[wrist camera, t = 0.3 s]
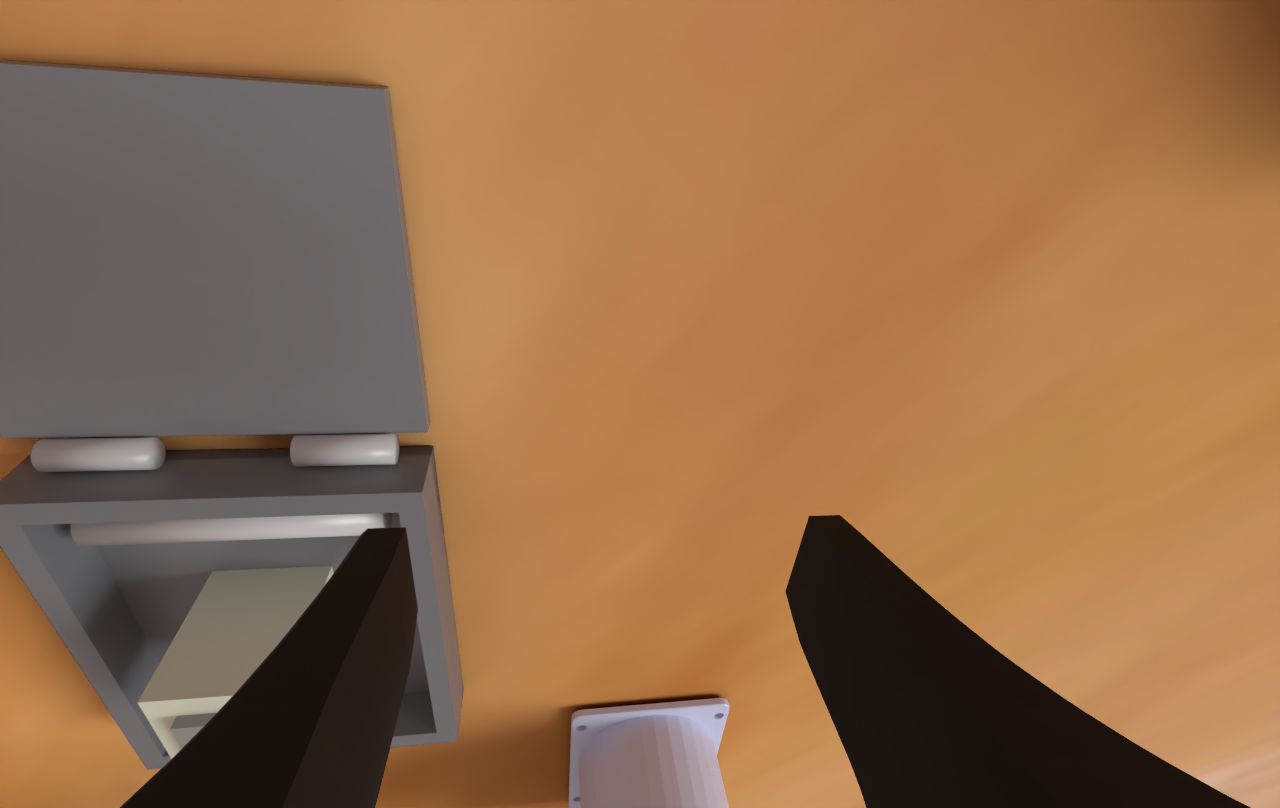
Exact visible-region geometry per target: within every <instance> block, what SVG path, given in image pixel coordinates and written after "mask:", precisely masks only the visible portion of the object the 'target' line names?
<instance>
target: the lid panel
mask: <svg viewBox="0 0 1280 808" xmlns="http://www.w3.org/2000/svg"><path fill="white" fill-rule="evenodd" d="M429 425H430V416H429V408H428V400H427V392H426V384H425V376H424V368H423V360H422V352H421V344H420V336H419V328H418V319H417V311H416V303H415V295H414V287H413V279H412V271H411V263H410V255H409V247H408V239H407V231H406V223H405V215H404V207H403V198H402V190H401V182H400V174H399V166H398V158H397V150H396V142H395V134H394V126H393V118H392V110H391V102H390V94H389V87H386V86H372V85H357V84H343V83H328V82H314V81H299V80H285V79H271V78H256V77H242V76H227V75H213V74H198V73H184V72H169V71H155V70H141V69H126V68H112V67H97V66H83V65H68V64H54V63H39V62H25V61H11V60H0V435H1V436H2V438H50V439H41V440H39V441H37V442H36V443H35V445H34V446H33V448H32V451H31V462H32V465H33V467H34V468H35V469H36V470H37V471H39V472H75V471H120V470H157V469H159V468H160V467H161V466H162V465H163V463H164V460H165V456H166V449H165V445H164V442H163V441H162V439H161V438H159V437H133V436H202V435H272V434H325V435H295V436H294V437H293V439H292V442H291V446H290V457H291V461H292V464H293V465H294V466H295V467H302V466H347V465H393V464H397V463H398V459H399V451H400V446H399V438H398V435H397V434H396V433H412V432H428V428H429ZM342 433H394V434H342ZM63 437H119V438H63Z"/></svg>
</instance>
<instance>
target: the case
mask: <svg viewBox="0 0 1280 808" xmlns="http://www.w3.org/2000/svg"><path fill="white" fill-rule="evenodd" d="M402 527H406V531H407V538H408V545H409V552H410V558H411V565H412V572H413V579H414V585H415V592H416V599H417V606H418V613H417V621H416V629H415V636H414V644H413V651H412V658H411V665H410V670H409V674H408V678H407V683H406V687H405V691H404V695H403V699H402V703H401V707H400V711H399V715H398V719H397V723H396V727H395V730H394V734H393V738H392V742H391V746H390V748H391V747H402V746H413V745H424V744H436V743H447V742H458V735H459V726H460V717H461V708H462V698H463V683H462V674H461V666H460V658H459V650H458V642H457V634H456V626H455V618H454V610H453V602H452V594H451V586H450V578H449V570H448V561H447V553H446V545H445V537H444V529H443V521H442V513H441V505H440V497H439V489H438V481H437V473H436V465H435V457H434V449H433V446H407V447H400V451H399V459H398V463H397V464H393V465H347V466H302V467H295V466H294V465H293V464H292V461H291V457H290V449H238V450H181V451H166V456H165V460H164V463H163V465H162V466H161V467H160V468H159V469H157V470H120V471H75V472H39V471H37V470H36V469H35V468H34V467H33V465H32V462H31V454H30V455H29V456H28V457H27V458H26V459H25V460H23V461H22V462H21V463H20V464H19V465H18V466H17V467H16V468H15V469H13V470H12V471H11V472H10V473H9V474H8V475H7V476H6V477H4V478H3V479H2V480H1V481H0V547H1V548H2V550H3V551H4V553H5V554H6V556H7V557H8V559H9V560H10V562H11V563H12V565H13V566H14V568H15V569H16V571H17V572H18V574H19V575H20V577H21V579H22V580H23V582H24V583H25V585H26V586H27V588H28V589H29V591H30V592H31V594H32V595H33V597H34V598H35V600H36V601H37V603H38V604H39V606H40V607H41V609H42V610H43V612H44V613H45V615H46V616H47V618H48V619H49V621H50V623H51V624H52V626H53V627H54V629H55V630H56V632H57V633H58V635H59V636H60V638H61V639H62V641H63V642H64V644H65V645H66V647H67V648H68V650H69V651H70V653H71V654H72V656H73V657H74V659H75V660H76V662H77V664H78V665H79V667H80V668H81V670H82V671H83V673H84V674H85V676H86V677H87V679H88V680H89V682H90V683H91V685H92V686H93V688H94V689H95V691H96V692H97V694H98V695H99V697H100V698H101V700H102V701H103V703H104V705H105V706H106V708H107V709H108V711H109V712H110V714H111V715H112V717H113V718H114V720H115V721H116V723H117V724H118V726H119V727H120V729H121V730H122V732H123V733H124V735H125V736H126V738H127V739H128V741H129V742H130V744H131V746H132V747H133V749H134V750H135V752H136V753H137V755H138V756H139V758H140V759H141V761H142V762H143V764H144V765H145V767H146V768H147V770H148V769H159V768H163V767H164V766H165V765H166V764H167V763H168V762H169V761H170V760H171V757H170V755H169V754H168V752H167V751H166V749H165V747H164V746H163V744H162V742H161V741H160V739H159V737H158V736H157V734H156V732H155V731H154V729H153V728H152V726H151V724H150V723H149V721H148V719H147V718H146V716H145V714H144V713H143V711H142V709H141V708H140V706H139V705H138V703H137V702H138V701H139V699H140V697H141V695H142V694H143V692H144V690H145V688H146V687H147V685H148V683H149V681H150V680H151V678H152V676H153V674H154V673H155V671H156V669H157V667H158V666H159V664H160V662H161V660H162V659H163V657H164V655H165V653H166V652H167V650H168V648H169V646H170V645H171V643H172V641H173V639H174V638H175V636H176V634H177V632H178V631H179V629H180V627H181V625H182V624H183V622H184V620H185V618H186V617H187V615H188V613H189V611H190V610H191V608H192V606H193V604H194V603H195V601H196V599H197V597H198V596H199V594H200V592H201V590H202V589H203V587H204V585H205V583H206V581H207V580H208V578H209V576H210V574H211V573H212V571H226V570H248V569H270V568H291V567H313V566H332V569H333V572H335V571H336V569H337V568H338V567H339V565H340V564H341V563H342V561H343V560H344V558H345V557H346V556H347V554H348V553H349V551H350V550H351V548H352V547H353V546H354V544H355V543H356V541H357V540H358V538H359V537H360V535H361V534H362V533H363V532H364V531H365V530H367V529H368V528H402Z"/></svg>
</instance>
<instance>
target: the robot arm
mask: <svg viewBox="0 0 1280 808" xmlns="http://www.w3.org/2000/svg"><path fill="white" fill-rule="evenodd" d="M786 595H787V598H788V602H789V606H790V610H791V613H792V617H793V621H794V624H795V627H796V631H797V634H798V637H799V641H800V644H801V646H802V649H803V651H804V654H805V656H806V659H807V661H808V663H809V666H810V668H811V671H812V673H813V675H814V678H815V680H816V683H817V685H818V687H819V690H820V692H821V694H822V697H823V699H824V701H825V704H826V706H827V708H828V711H829V713H830V716H831V718H832V720H833V723H834V725H835V727H836V730H837V732H838V734H839V737H840V739H841V741H842V744H843V746H844V748H845V751H846V753H847V755H848V758H849V760H850V763H851V765H852V768H853V770H854V773H855V776H856V778H857V781H858V784H859V786H860V789H861V792H862V795H863V798H864V801H865V804H866V807H867V808H1250V807H1248V806H1246V805H1244V804H1242V803H1240V802H1238V801H1236V800H1234V799H1232V798H1231V797H1229V796H1227V795H1225V794H1223V793H1221V792H1219V791H1218V790H1216V789H1214V788H1212V787H1210V786H1209V785H1207V784H1205V783H1203V782H1201V781H1200V780H1198V779H1196V778H1194V777H1192V776H1191V775H1189V774H1187V773H1185V772H1183V771H1182V770H1180V769H1178V768H1176V767H1174V766H1173V765H1171V764H1169V763H1167V762H1166V761H1164V760H1162V759H1161V758H1159V757H1157V756H1155V755H1154V754H1152V753H1150V752H1149V751H1147V750H1145V749H1143V748H1142V747H1140V746H1138V745H1137V744H1135V743H1133V742H1132V741H1130V740H1128V739H1127V738H1125V737H1124V736H1122V735H1120V734H1119V733H1117V732H1116V731H1114V730H1112V729H1111V728H1109V727H1108V726H1106V725H1105V724H1103V723H1101V722H1100V721H1098V720H1097V719H1095V718H1093V717H1092V716H1090V715H1089V714H1087V713H1085V712H1084V711H1082V710H1081V709H1079V708H1078V707H1076V706H1075V705H1073V704H1072V703H1070V702H1069V701H1067V700H1066V699H1064V698H1063V697H1061V696H1060V695H1058V694H1057V693H1055V692H1054V691H1053V690H1051V689H1050V688H1048V687H1047V686H1045V685H1044V684H1043V683H1041V682H1040V681H1038V680H1037V679H1036V678H1034V677H1033V676H1031V675H1030V674H1029V673H1027V672H1026V671H1024V670H1023V669H1021V668H1020V667H1019V666H1017V665H1016V664H1014V663H1013V662H1012V661H1010V660H1009V659H1008V658H1006V657H1005V656H1004V655H1002V654H1001V653H1000V652H998V651H997V650H996V649H995V648H993V647H992V646H991V645H989V644H988V643H987V642H986V641H984V640H983V639H982V638H981V637H979V636H978V635H977V634H976V633H974V632H973V631H972V630H971V629H969V628H968V627H967V626H966V625H964V624H963V623H962V622H961V621H959V620H958V619H957V618H956V617H955V616H953V615H952V614H951V613H950V612H949V611H947V610H946V609H945V608H944V607H943V606H942V605H940V604H939V603H938V602H937V601H936V600H935V599H933V598H932V597H931V596H930V595H929V594H928V593H926V592H925V591H924V590H923V589H922V588H921V587H920V586H918V585H917V584H916V583H915V582H914V581H913V580H912V579H911V578H909V577H908V576H907V575H906V574H905V573H904V572H903V571H902V570H900V569H899V568H898V567H897V566H896V565H895V564H894V563H893V562H892V561H890V560H889V559H888V558H887V557H886V556H885V555H884V554H883V553H882V552H881V551H879V550H878V549H877V548H876V547H875V546H874V545H873V544H872V543H871V542H870V541H868V540H867V539H866V538H865V537H864V536H863V535H862V534H861V533H860V532H858V531H857V530H856V529H855V528H854V527H853V526H852V525H851V524H849V523H848V522H847V521H846V520H845V519H844V518H842V517H841V516H840V515H831V516H809V519H808V522H807V525H806V528H805V531H804V534H803V538H802V541H801V544H800V547H799V550H798V554H797V557H796V560H795V563H794V566H793V569H792V573H791V576H790V579H789V582H788V585H787V589H786ZM417 613H418V606H417V599H416V592H415V585H414V579H413V572H412V565H411V558H410V552H409V545H408V538H407V531H406V527H402V528H368V529H367V530H365V531H364V532H363V533H362V534H361V535H360V537H359V538H358V540H357V541H356V543H355V544H354V546H353V547H352V548H351V550H350V551H349V553H348V554H347V556H346V557H345V558H344V560H343V561H342V563H341V564H340V565H339V567H338V568H337V569H336V571H335V572H334V574H333V575H332V576H331V578H330V579H329V580H328V582H327V583H326V584H325V586H324V587H323V588H322V590H321V591H320V592H319V594H318V595H317V596H316V598H315V599H314V600H313V601H312V603H311V604H310V605H309V606H308V608H307V609H306V610H305V611H304V613H303V614H302V615H301V616H300V618H299V619H298V620H297V621H296V623H295V624H294V625H293V626H292V628H291V629H290V630H289V632H288V633H287V634H286V635H285V636H284V638H283V639H282V640H281V641H280V643H279V644H278V645H277V646H276V647H275V648H274V650H273V651H272V652H271V653H270V654H269V655H268V656H267V658H266V659H265V660H264V661H263V662H262V663H261V664H260V666H259V667H258V668H257V669H256V670H255V671H254V672H253V674H252V675H251V676H250V677H249V678H248V679H247V680H246V682H245V683H244V684H243V685H242V686H241V687H240V688H239V690H238V691H237V692H236V693H235V694H234V695H233V696H232V697H231V698H230V699H229V700H228V702H227V703H226V704H225V705H224V706H223V707H222V708H221V709H220V710H219V711H218V712H217V713H216V714H215V715H214V716H213V718H212V719H211V720H210V721H209V722H208V723H207V724H206V725H205V726H204V727H203V728H202V729H201V730H200V731H199V732H198V733H197V734H196V735H195V736H194V737H193V738H192V739H191V740H190V741H189V742H188V743H187V744H186V745H185V746H184V747H183V748H182V749H181V750H180V751H179V752H178V753H177V754H176V755H175V756H174V757H173V758H172V759H171V760H170V761H169V762H168V763H167V764H166V765H165V766H164V767H163V768H162V769H161V770H160V771H158V772H157V773H156V774H155V775H154V776H153V777H152V778H151V779H150V780H149V781H148V782H147V783H146V784H145V785H144V786H142V787H141V788H140V789H139V790H138V791H137V792H136V793H135V794H134V795H133V796H132V797H131V798H130V799H129V800H128V801H127V802H125V803H124V804H123V805H122V806H121V807H120V808H375V805H376V801H377V797H378V793H379V790H380V786H381V782H382V778H383V774H384V770H385V766H386V762H387V758H388V754H389V750H390V746H391V742H392V738H393V734H394V730H395V727H396V723H397V719H398V715H399V711H400V707H401V703H402V699H403V695H404V691H405V687H406V683H407V678H408V674H409V670H410V665H411V658H412V651H413V644H414V636H415V629H416V621H417ZM728 712H729V703H728V701H727V699H724V698H711V699H699V700H688V701H676V702H664V703H652V704H641V705H629V706H617V707H605V708H594V709H582V710H578V711H575V712H574V713H573V714H572V716H571V742H570V771H569V801H568V804H569V808H729V806H728V802H727V797H726V793H725V789H724V785H723V780H722V776H721V772H720V768H719V764H718V759H717V753H718V749H719V746H720V742H721V738H722V734H723V731H724V727H725V723H726V720H727V716H728Z"/></svg>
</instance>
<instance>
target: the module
mask: <svg viewBox="0 0 1280 808" xmlns="http://www.w3.org/2000/svg"><path fill="white" fill-rule="evenodd" d="M333 574H334V572H333V569H332V566H313V567H291V568H270V569H248V570H226V571H212V573H211V574H210V576H209V578H208V580H207V581H206V583H205V585H204V587H203V589H202V590H201V592H200V594H199V596H198V597H197V599H196V601H195V603H194V604H193V606H192V608H191V610H190V611H189V613H188V615H187V617H186V618H185V620H184V622H183V624H182V625H181V627H180V629H179V631H178V632H177V634H176V636H175V638H174V639H173V641H172V643H171V645H170V646H169V648H168V650H167V652H166V653H165V655H164V657H163V659H162V660H161V662H160V664H159V666H158V667H157V669H156V671H155V673H154V674H153V676H152V678H151V680H150V681H149V683H148V685H147V687H146V688H145V690H144V692H143V694H142V695H141V697H140V699H139V701H138V702H137V703H138V705H139V706H140V708H141V709H142V711H143V713H144V714H145V716H146V718H147V719H148V721H149V723H150V724H151V726H152V728H153V729H154V731H155V732H156V734H157V736H158V737H159V739H160V741H161V742H162V744H163V746H164V747H165V749H166V751H167V752H168V754H169V755H170V757H171V759H172V758H173V757H174V756H175V755H176V754H177V753H178V752H179V751H180V750H181V749H182V748H183V747H184V746H185V745H186V744H187V743H188V742H189V741H190V740H191V739H192V738H193V737H194V736H195V735H196V734H197V733H198V732H199V731H200V730H201V729H202V728H203V727H204V726H205V725H206V724H207V723H208V722H209V721H210V720H211V719H212V718H213V716H214V715H215V714H216V713H217V712H218V711H219V710H220V709H221V708H222V707H223V706H224V705H225V704H226V703H227V702H228V700H229V699H230V698H231V697H232V696H233V695H234V694H235V693H236V692H237V691H238V690H239V688H240V687H241V686H242V685H243V684H244V683H245V682H246V680H247V679H248V678H249V677H250V676H251V675H252V674H253V672H254V671H255V670H256V669H257V668H258V667H259V666H260V664H261V663H262V662H263V661H264V660H265V659H266V658H267V656H268V655H269V654H270V653H271V652H272V651H273V650H274V648H275V647H276V646H277V645H278V644H279V643H280V641H281V640H282V639H283V638H284V636H285V635H286V634H287V633H288V632H289V630H290V629H291V628H292V626H293V625H294V624H295V623H296V621H297V620H298V619H299V618H300V616H301V615H302V614H303V613H304V611H305V610H306V609H307V608H308V606H309V605H310V604H311V603H312V601H313V600H314V599H315V598H316V596H317V595H318V594H319V592H320V591H321V590H322V588H323V587H324V586H325V584H326V583H327V582H328V580H329V579H330V578H331V576H332V575H333Z"/></svg>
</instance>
